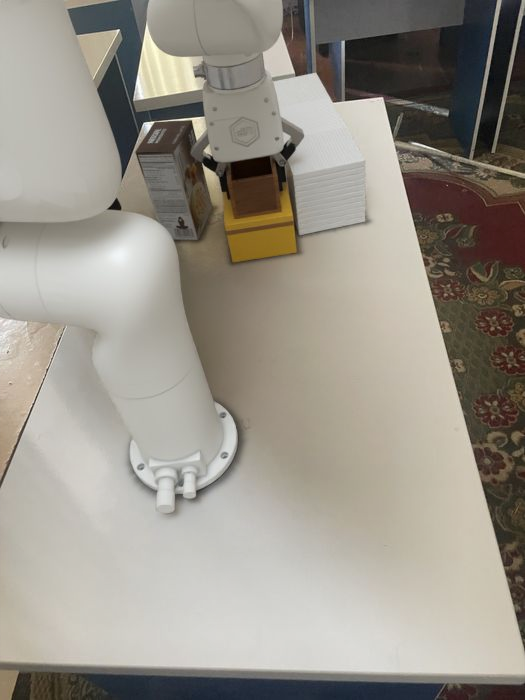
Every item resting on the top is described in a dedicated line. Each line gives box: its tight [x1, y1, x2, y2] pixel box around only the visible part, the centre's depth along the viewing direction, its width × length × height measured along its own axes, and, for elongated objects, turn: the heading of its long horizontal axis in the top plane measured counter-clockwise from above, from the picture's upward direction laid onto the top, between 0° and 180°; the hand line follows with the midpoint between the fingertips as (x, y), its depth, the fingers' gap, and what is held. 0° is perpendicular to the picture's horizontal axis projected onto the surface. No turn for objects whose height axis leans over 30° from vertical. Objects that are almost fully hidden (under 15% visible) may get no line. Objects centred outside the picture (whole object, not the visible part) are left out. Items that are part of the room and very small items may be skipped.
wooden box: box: [226, 155, 282, 219], centre depth 84 cm, size 10×7×6 cm
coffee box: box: [134, 119, 214, 241], centre depth 90 cm, size 9×6×16 cm
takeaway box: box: [222, 182, 298, 263], centre depth 89 cm, size 12×10×7 cm
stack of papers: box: [273, 72, 366, 236], centre depth 96 cm, size 32×11×11 cm, turn 9°
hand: (254, 189), depth 85 cm, fingers closed on wooden box, 7 cm apart
